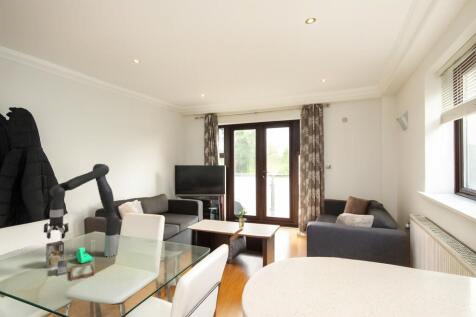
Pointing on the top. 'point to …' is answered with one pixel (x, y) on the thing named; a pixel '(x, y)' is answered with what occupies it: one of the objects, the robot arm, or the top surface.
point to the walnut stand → (81, 272)
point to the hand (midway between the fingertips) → (56, 238)
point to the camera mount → (83, 256)
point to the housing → (62, 267)
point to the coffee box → (54, 253)
